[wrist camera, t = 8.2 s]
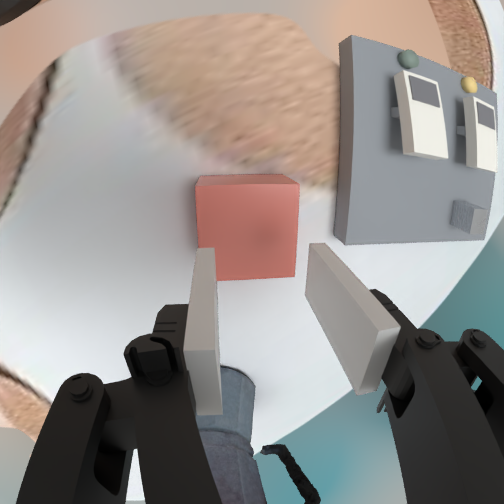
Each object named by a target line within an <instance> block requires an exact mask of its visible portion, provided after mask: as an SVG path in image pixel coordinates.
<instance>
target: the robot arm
mask: <svg viewBox="0 0 504 504" xmlns="http://www.w3.org/2000/svg"><path fill="white" fill-rule="evenodd" d="M38 1H40V0H0V26H1V25H4V24H6V23H8V22H10V21H12V20H14V19H15V18H17V17H19V16H20V15H22V14H23V13H24V12H26V11H27V10H29V9H30V8H31V7H32V6H34V5H35V4H36V3H37V2H38ZM305 296H306V298H307V300H308V302H309V304H310V306H311V308H312V310H313V312H314V313H315V315H316V317H317V319H318V321H319V323H320V325H321V327H322V329H323V331H324V332H325V334H326V336H327V338H328V340H329V342H330V344H331V346H332V348H333V350H334V352H335V354H336V356H337V358H338V360H339V361H340V363H341V365H342V367H343V369H344V371H345V373H346V375H347V377H348V379H349V381H350V383H351V385H352V387H353V389H354V391H355V393H356V395H361V394H365V393H369V392H373V391H377V388H378V386H379V384H380V381H381V379H382V380H383V381H384V383H385V384H386V386H387V388H386V390H385V392H384V394H383V396H382V398H381V400H380V402H379V405H378V407H377V413H379V412H380V411H381V410H382V408H383V406H384V404H385V406H386V407H385V410H384V412H387V413H388V417H389V421H390V424H391V429H392V432H393V437H394V441H395V445H396V449H397V454H398V458H399V462H400V467H401V472H402V477H403V482H404V488H405V493H406V499H407V504H504V350H503V349H502V348H501V347H500V346H499V345H498V344H497V343H496V342H495V341H494V340H493V339H491V338H490V337H489V336H488V335H487V334H486V333H484V332H482V331H480V330H478V329H467V330H465V331H464V332H463V334H462V336H461V338H460V341H459V342H444V340H443V339H442V338H441V337H440V335H438V334H437V333H435V332H434V331H431V330H428V329H420V328H419V329H417V328H416V327H415V326H414V325H413V324H412V323H411V322H410V320H409V319H408V318H407V317H406V316H405V315H404V314H403V313H402V312H401V311H400V310H398V307H397V306H396V305H395V304H393V302H392V301H391V300H390V299H389V298H388V297H387V296H386V295H385V294H383V293H381V292H380V291H378V290H376V289H371V290H368V289H367V287H366V286H365V285H364V284H363V283H362V282H361V281H360V280H359V279H358V278H357V276H356V275H355V274H354V273H353V272H352V271H351V270H350V269H349V268H348V267H347V266H346V265H345V264H344V262H343V261H342V260H341V259H340V258H339V257H338V256H337V255H336V254H335V253H334V252H333V251H332V250H331V249H330V248H329V247H328V246H327V245H326V244H325V243H310V244H309V256H308V268H307V279H306V289H305ZM124 357H125V360H126V363H127V365H128V368H129V371H130V373H131V376H132V377H130V378H129V379H126V380H123V381H119V382H113V383H108V384H103V383H102V380H101V379H99V378H98V377H97V376H96V375H93V374H89V373H79V374H76V375H73V376H71V377H70V378H68V379H67V380H65V381H64V383H63V384H62V385H61V387H60V388H59V390H58V393H57V395H56V397H55V399H54V401H53V403H52V406H51V408H50V410H49V412H48V415H47V417H46V419H45V422H44V424H43V426H42V429H41V431H40V434H39V436H38V439H37V441H36V444H35V446H34V449H33V452H32V454H31V457H30V460H29V463H28V466H27V469H26V472H25V475H24V478H23V481H22V484H21V488H20V491H19V494H18V498H17V502H16V504H125V502H126V494H127V487H128V481H129V474H130V468H131V462H132V456H133V450H134V449H137V450H138V458H139V465H140V473H141V479H142V485H143V491H144V497H145V502H146V504H223V503H222V501H221V498H220V495H219V492H218V490H217V487H216V484H215V481H214V478H213V475H212V472H211V469H210V466H209V463H208V460H207V456H206V453H205V450H204V447H203V443H202V440H201V436H200V433H199V429H198V426H197V422H196V411H197V415H223V409H222V393H221V374H220V352H219V326H218V297H217V282H216V265H215V248H197V253H196V259H195V265H194V272H193V279H192V286H191V293H190V300H189V304H173V305H165V306H164V307H163V308H162V309H161V310H160V311H159V312H158V314H157V317H156V321H155V325H154V328H153V332H152V334H147V335H143V336H139V337H138V338H136V339H134V340H132V341H131V342H130V343H129V344H128V345H127V346H126V348H125V351H124ZM477 376H478V377H479V378H480V379H481V380H482V382H481V384H480V386H479V387H478V389H477V390H476V391H475V390H472V389H471V386H472V385H473V383H474V381H475V379H476V378H477Z"/></svg>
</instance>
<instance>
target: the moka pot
mask: <svg viewBox="0 0 504 504" xmlns="http://www.w3.org/2000/svg"><path fill="white" fill-rule="evenodd" d="M220 374H221V393H222V409H223V415H197V411H196V422H197V426H198V429H199V433H200V436H201V440H202V443H203V447H204V450H205V453H206V456H207V460H208V463H209V466H210V469H211V472H212V475H213V478H214V481H215V484H216V487H217V490H218V492H219V495H220V498H221V501H222V503H223V504H267V501H266V498H265V494H264V491H263V487H262V483H261V479H260V475H259V471H258V466H257V463H256V460H254V459H253V458H252V457H253V454H254V451H253V448H252V447H251V445H250V442H251V435H252V421H253V409H254V397H255V385H254V384H253V382H252V381H251V380H250V379H249V378H248V377H247V376H245V375H243V374H242V373H240V372H238V371H235V370H232V369H228V368H223V367H220ZM260 453H262V454H264V455H268V454H276V455H278V456H279V458H280V460H281V461H282V462H283V463H284V464H285V465H286V469H287V471H288V473H289V474H290V475H289V476H290V477H291V478H292V480H293V482H294V483H295V485H296V486H297V489H298V490H299V492H300V494H301V496H302V497H303V498H304V499H305V503H304V504H320V501H321V499H320V497H319V494H318V492H317V490H316V489H315V488H314V487H313V485H312V484H311V483H310V481H309V480H308V478H307V477H306V476H305V475H304V473H303V472H302V471H301V468H300V467H299V465H297V464H296V462H295V459H294V458H293V457H292V456H291V453H290V452H289V451H288V449H287V447H286V446H285V445H281V444H276V445H266V446H262V450H261V452H260Z"/></svg>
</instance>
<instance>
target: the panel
mask: <svg viewBox="0 0 504 504" xmlns="http://www.w3.org/2000/svg"><path fill="white" fill-rule="evenodd" d="M339 56H340V152H339V174H338V190H337V204H336V216H335V227H334V236H335V237H337V238H338V239H339V240H340V241H341V242H342V243H343V244H344V245H364V244H390V243H417V242H444V241H472V240H484V239H485V234H486V230H487V225H488V220H489V214H490V208H491V202H492V196H493V188H494V180H495V172H489V171H484V170H480V169H476V168H472V167H468V166H466V129H465V115H464V104H463V98H465V97H472V96H474V97H476V98H478V99H480V100H482V101H484V102H486V103H488V104H489V105H491V106H493V107H494V110H495V120H496V134H497V133H498V117H497V93H495V92H493V91H492V90H490V89H488V88H486V87H485V86H483V85H481V84H479V83H477V82H476V81H475V79H474V78H472V77H466V76H464V75H462V74H460V73H458V72H456V71H454V70H452V69H450V68H447V67H445V66H443V65H440V64H438V63H436V62H434V61H431V60H429V59H426V58H423V57H421V56H418V55H417V54H416V53H415V52H414V51H412V50H402V49H399V48H396V47H393V46H390V45H387V44H383V43H380V42H376V41H373V40H369V39H365V38H362V37H357V36H353V35H351V36H349V37H348V38H346V39H345V40H343V41H342V42H340V43H339ZM402 70H405V71H408V72H411V73H414V74H417V75H420V76H423V77H426V78H428V79H431V80H434V81H436V82H438V87H439V92H440V97H441V103H442V109H443V115H444V122H445V130H446V138H447V148H448V159H441V160H434V159H428V158H423V157H417V156H411V155H405V154H403V145H402V134H401V124H400V115H399V107H398V100H397V94H396V87H395V82H394V75H396V74H397V73H399V72H401V71H402ZM453 200H457V201H466V202H470V203H472V204H475V205H477V206H480V207H482V208H485V209H487V210H488V213H487V219H486V224H485V229H484V234H468V233H466V232H464V231H462V230H460V229H458V228H456V227H454V226H453V225H451V224H450V219H451V213H452V207H453Z"/></svg>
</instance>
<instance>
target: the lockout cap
mask: <svg viewBox="0 0 504 504" xmlns="http://www.w3.org/2000/svg"><path fill="white" fill-rule="evenodd" d="M299 189H300V184H298V183H297V182H295V181H293V180H292V179H290V178H288V177H286V176H284V175H283V174H243V175H210V176H200V177H199V179H198V181H197V183H196V185H195V196H196V216H197V233H198V247H199V248H215V265H216V281H227V280H247V279H266V278H283V277H295V263H296V248H297V231H298V212H299Z"/></svg>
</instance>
